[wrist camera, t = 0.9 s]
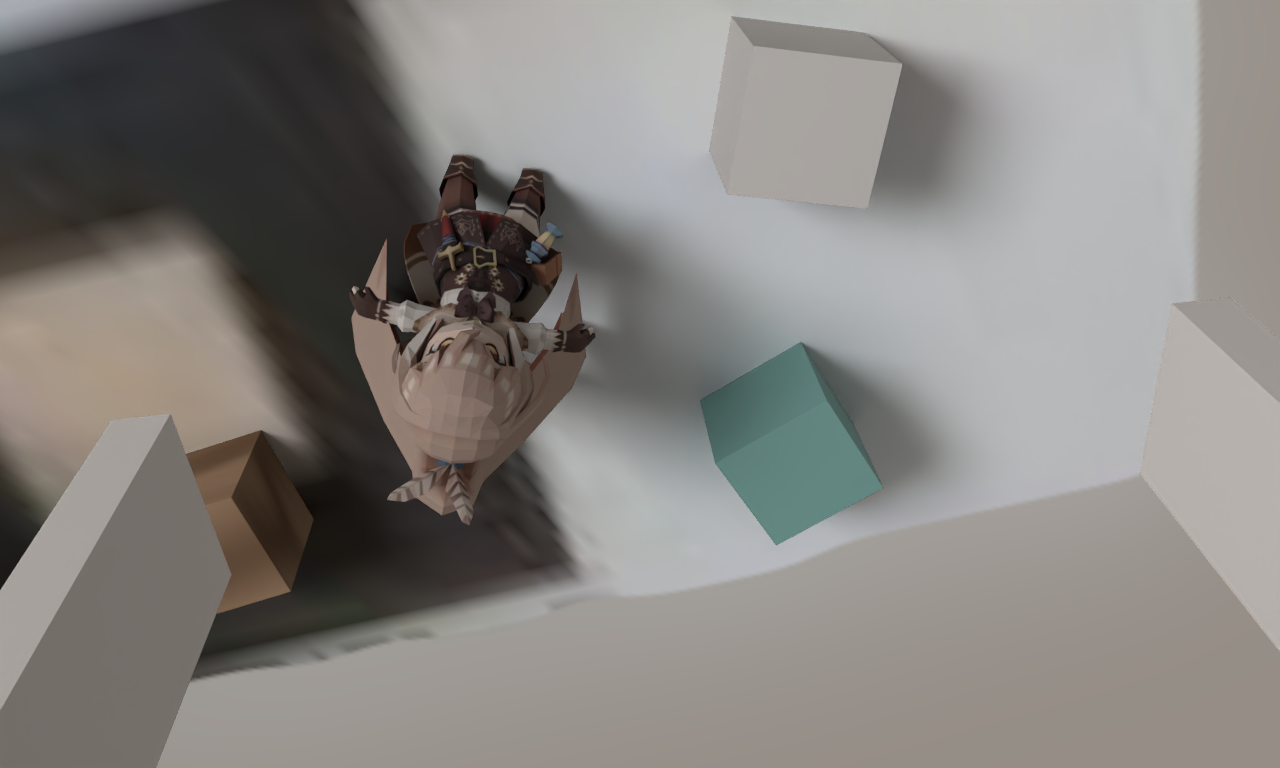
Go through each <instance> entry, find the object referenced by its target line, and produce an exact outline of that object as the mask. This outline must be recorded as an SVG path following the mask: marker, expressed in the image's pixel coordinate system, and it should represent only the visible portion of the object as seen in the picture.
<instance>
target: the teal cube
mask: <svg viewBox="0 0 1280 768" xmlns="http://www.w3.org/2000/svg"><path fill="white" fill-rule="evenodd" d="M700 402H701V406H702V410H703V414H704V418H705V422H706V427H707V431H708V435H709V439H710V443H711V448H712V452H713V456H714V460H715V464H716V465H717V466H718V468H719V469H720V470H721V472H722V473H723V474H724V476H725V477H726V478H727V480H728V481H729V482H730V484H731V485H732V486H733V488H734V489H735V490H736V492H737V493H738V495H739V496H740V497H741V499H742V500H743V501H744V503H745V504H746V505H747V507H748V508H749V509H750V511H751V512H752V513H753V515H754V516H755V517H756V519H757V520H758V521H759V523H760V524H761V526H762V527H763V528H764V530H765V531H766V532H767V534H768V535H769V536H770V538H771V539H772V540H773V542H774V543H775V544H776V545H778V544H780V543H782V542H784V541H785V540H787V539H789V538H791V537H793V536H795V535H797V534H798V533H800V532H802V531H804V530H806V529H808V528H810V527H811V526H813V525H815V524H817V523H819V522H821V521H823V520H824V519H826V518H828V517H830V516H832V515H834V514H836V513H837V512H839V511H841V510H843V509H845V508H847V507H849V506H850V505H852V504H854V503H856V502H858V501H860V500H862V499H863V498H865V497H867V496H869V495H871V494H873V493H874V492H876V491H878V490H880V489H882V488H883V486H882V484H881V482H880V480H879V477H878V475H877V473H876V471H875V469H874V467H873V465H872V462H871V460H870V458H869V456H868V454H867V452H866V450H865V447H864V445H863V443H862V441H861V439H860V437H859V435H858V433H857V430H856V428H855V426H854V424H853V423H852V421H851V419H850V418H849V416H848V415H847V413H846V412H845V410H844V408H843V407H842V405H841V404H840V402H839V401H838V399H837V398H836V396H835V394H834V393H833V391H832V390H831V388H830V387H829V385H828V384H827V382H826V380H825V379H824V377H823V376H822V374H821V373H820V371H819V370H818V368H817V366H816V365H815V363H814V362H813V360H812V359H811V357H810V356H809V354H808V352H807V351H806V349H805V348H804V346H803V345H802V343H801V342H800V343H798V344H796V345H795V346H793V347H791V348H790V349H788V350H786V351H784V352H783V353H781V354H779V355H777V356H776V357H774V358H772V359H771V360H769V361H767V362H765V363H764V364H762V365H760V366H759V367H757V368H755V369H753V370H752V371H750V372H748V373H747V374H745V375H743V376H741V377H740V378H738V379H736V380H734V381H733V382H731V383H729V384H728V385H726V386H724V387H722V388H721V389H719V390H717V391H716V392H714V393H712V394H710V395H709V396H707V397H705V398H703V399H702V400H700Z"/></svg>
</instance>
